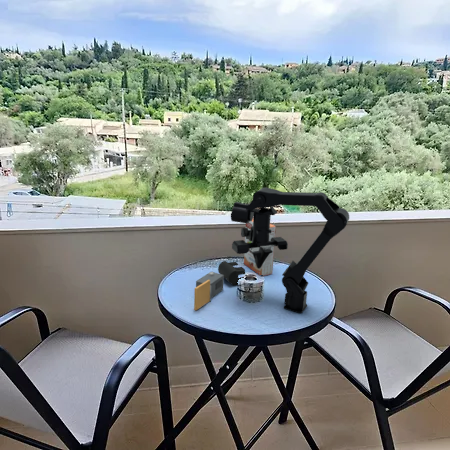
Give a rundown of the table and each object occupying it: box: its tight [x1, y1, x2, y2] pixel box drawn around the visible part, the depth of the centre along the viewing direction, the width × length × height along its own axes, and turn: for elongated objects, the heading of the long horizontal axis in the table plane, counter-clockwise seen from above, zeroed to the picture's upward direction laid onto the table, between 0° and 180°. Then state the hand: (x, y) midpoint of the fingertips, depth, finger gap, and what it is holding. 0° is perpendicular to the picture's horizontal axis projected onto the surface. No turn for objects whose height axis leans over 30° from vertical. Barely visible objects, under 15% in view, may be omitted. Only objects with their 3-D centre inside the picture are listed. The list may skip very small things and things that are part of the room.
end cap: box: [217, 260, 246, 287], centre depth 165 cm, size 10×7×7 cm
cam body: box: [195, 271, 225, 299], centre depth 154 cm, size 6×10×7 cm, turn 150°
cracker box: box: [243, 220, 277, 277], centre depth 174 cm, size 14×6×21 cm, turn 28°
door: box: [193, 280, 212, 311], centre depth 145 cm, size 9×1×8 cm, turn 148°
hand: (258, 268), depth 149 cm, fingers closed
